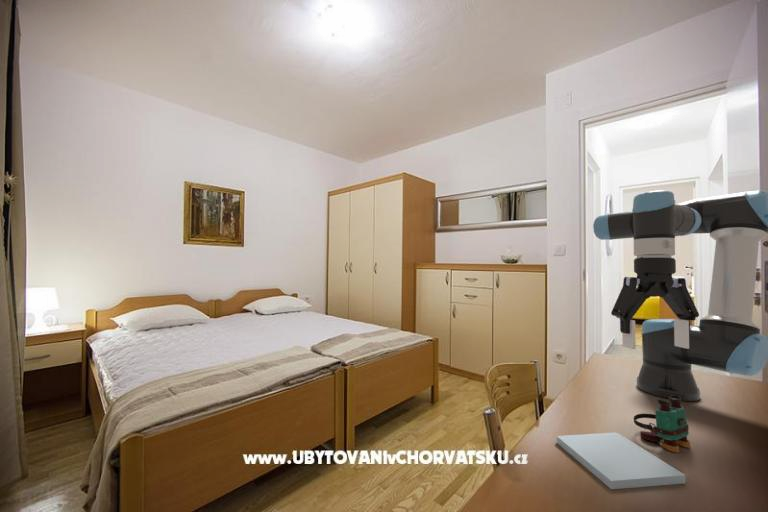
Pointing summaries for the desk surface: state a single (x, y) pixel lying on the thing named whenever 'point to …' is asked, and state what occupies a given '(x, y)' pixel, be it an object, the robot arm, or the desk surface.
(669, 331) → the robot arm
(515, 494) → the desk surface
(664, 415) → the binoculars
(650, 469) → the board
